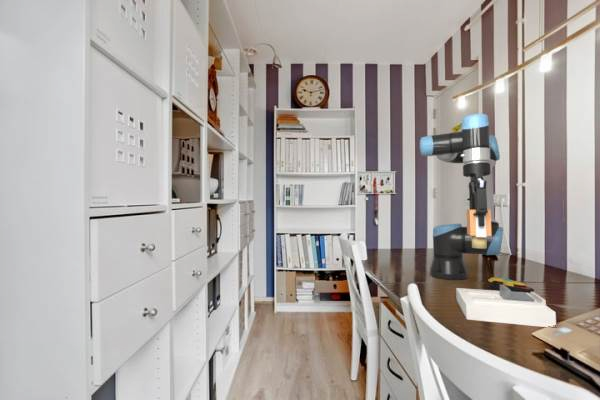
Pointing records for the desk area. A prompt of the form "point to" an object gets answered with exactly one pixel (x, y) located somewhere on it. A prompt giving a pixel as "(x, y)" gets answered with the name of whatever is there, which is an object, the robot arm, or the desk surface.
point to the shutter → (514, 295)
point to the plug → (476, 241)
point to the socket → (504, 308)
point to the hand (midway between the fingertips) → (478, 236)
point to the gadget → (508, 285)
